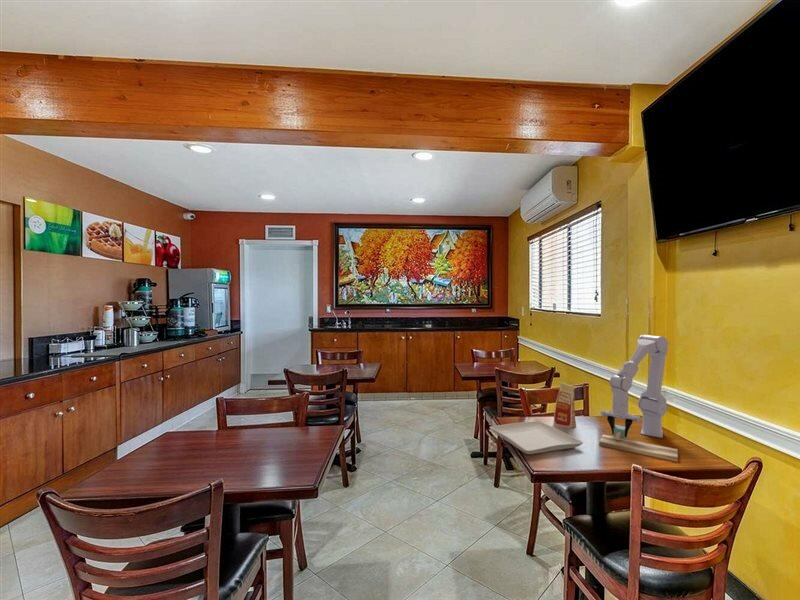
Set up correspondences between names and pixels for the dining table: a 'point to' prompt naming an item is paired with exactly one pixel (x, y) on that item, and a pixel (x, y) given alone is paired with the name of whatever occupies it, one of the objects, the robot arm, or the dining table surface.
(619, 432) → the tan post teal base
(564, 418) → the milk carton
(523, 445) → the square plate
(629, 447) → the board
